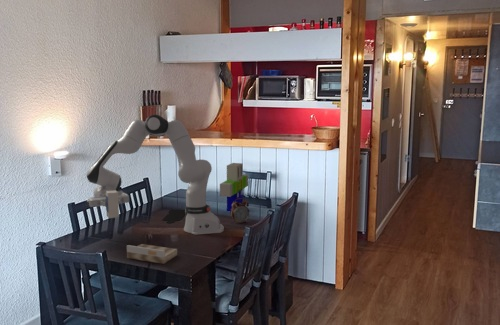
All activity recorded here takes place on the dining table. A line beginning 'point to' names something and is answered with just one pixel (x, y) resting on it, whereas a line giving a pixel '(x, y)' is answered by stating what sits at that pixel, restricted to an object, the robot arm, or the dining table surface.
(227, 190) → the toy
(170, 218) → the toy
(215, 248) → the dining table surface
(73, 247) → the dining table surface
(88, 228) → the dining table surface
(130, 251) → the beige flat block
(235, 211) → the alarm clock
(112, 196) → the carton
